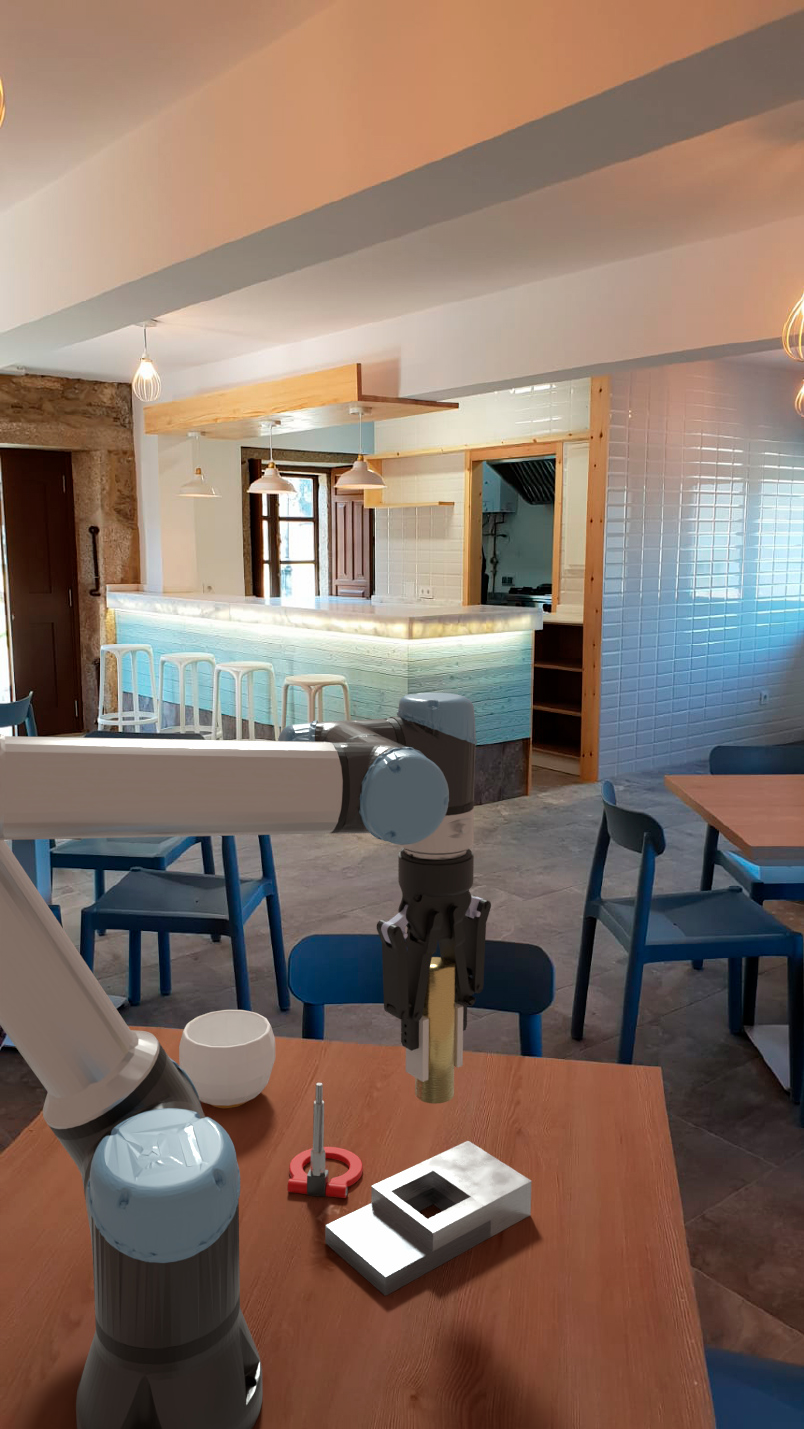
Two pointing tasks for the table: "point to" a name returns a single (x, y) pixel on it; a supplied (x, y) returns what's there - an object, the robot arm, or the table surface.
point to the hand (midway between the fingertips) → (434, 1068)
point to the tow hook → (322, 1162)
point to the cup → (228, 1056)
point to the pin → (439, 1033)
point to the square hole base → (408, 1244)
